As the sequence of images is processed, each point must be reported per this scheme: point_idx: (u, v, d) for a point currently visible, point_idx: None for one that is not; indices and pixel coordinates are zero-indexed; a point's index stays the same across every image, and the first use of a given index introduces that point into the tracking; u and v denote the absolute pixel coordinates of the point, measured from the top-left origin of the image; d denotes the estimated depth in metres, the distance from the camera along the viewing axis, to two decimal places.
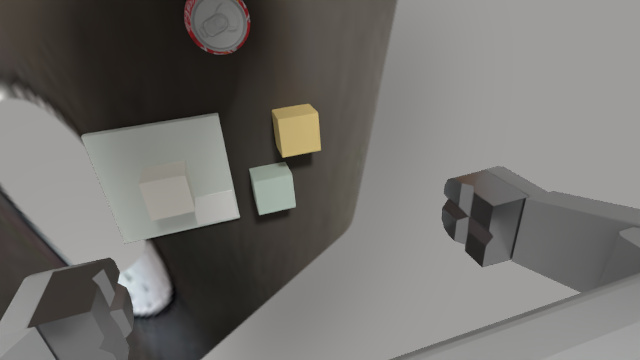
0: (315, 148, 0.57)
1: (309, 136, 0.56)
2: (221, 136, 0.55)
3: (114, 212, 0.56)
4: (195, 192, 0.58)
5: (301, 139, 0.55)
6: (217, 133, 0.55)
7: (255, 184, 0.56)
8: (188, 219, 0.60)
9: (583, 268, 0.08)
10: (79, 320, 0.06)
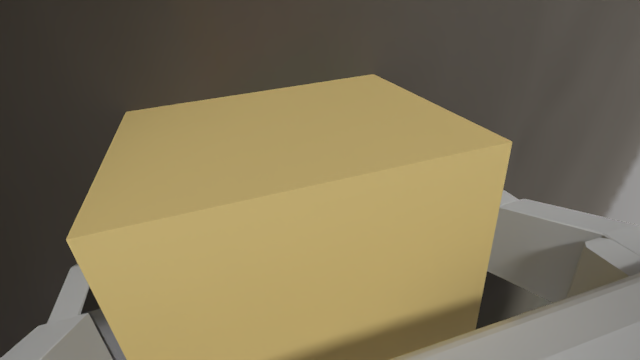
0: None
1: (406, 326, 0.07)
2: None
3: None
4: None
5: None
6: None
7: None
8: None
9: (553, 278, 0.08)
10: None
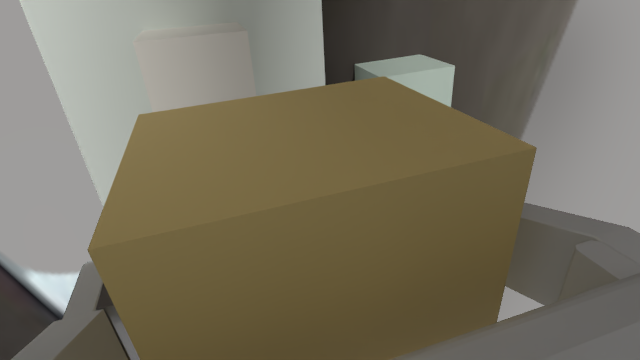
0: None
1: (424, 334, 0.07)
2: None
3: (79, 135, 0.25)
4: None
5: None
6: None
7: None
8: None
9: (545, 281, 0.08)
10: None
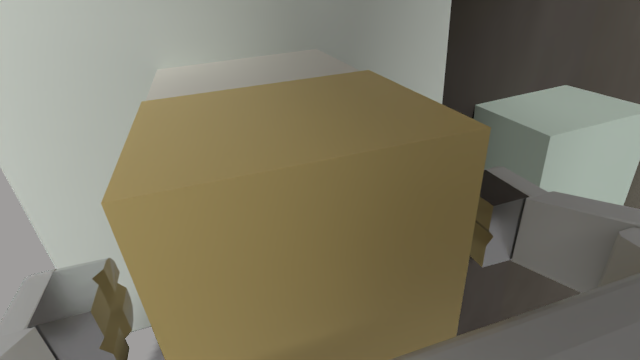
0: None
1: (396, 297, 0.07)
2: None
3: (52, 243, 0.15)
4: None
5: (338, 327, 0.07)
6: None
7: (553, 144, 0.16)
8: None
9: (583, 268, 0.08)
10: (79, 320, 0.06)
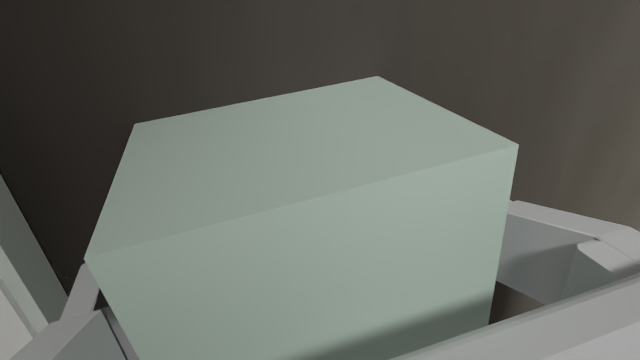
0: None
1: None
2: None
3: None
4: None
5: None
6: None
7: (119, 280, 0.05)
8: None
9: (546, 280, 0.08)
10: None
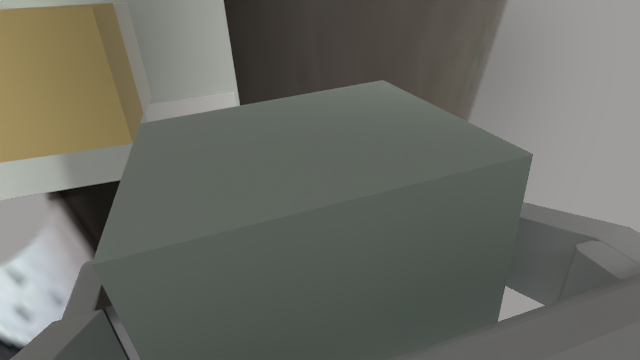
0: (111, 137, 0.17)
1: (76, 92, 0.16)
2: None
3: None
4: (153, 90, 0.26)
5: (46, 104, 0.16)
6: None
7: (127, 286, 0.04)
8: None
9: (546, 281, 0.08)
10: None
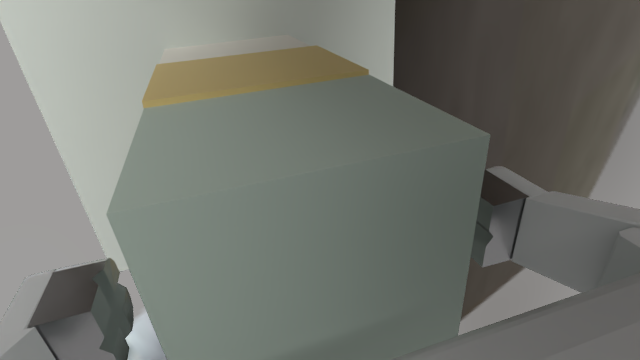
0: None
1: None
2: None
3: (82, 187, 0.19)
4: None
5: None
6: None
7: (135, 236, 0.05)
8: None
9: (583, 268, 0.08)
10: (79, 320, 0.06)
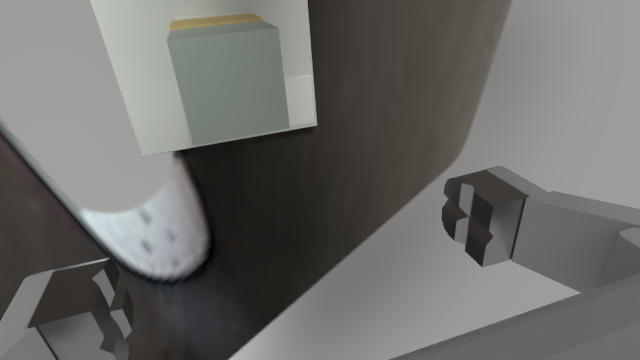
0: None
1: None
2: None
3: (126, 98, 0.34)
4: None
5: None
6: None
7: (173, 48, 0.20)
8: None
9: (583, 268, 0.08)
10: (79, 320, 0.06)
